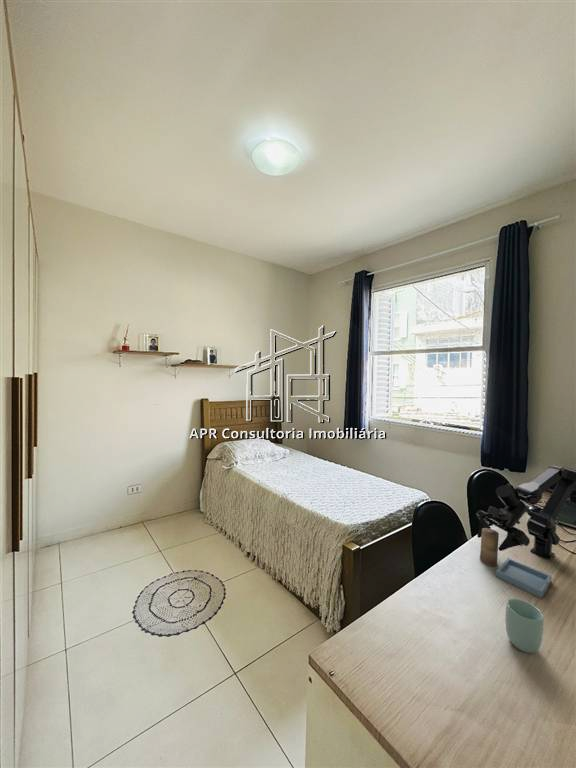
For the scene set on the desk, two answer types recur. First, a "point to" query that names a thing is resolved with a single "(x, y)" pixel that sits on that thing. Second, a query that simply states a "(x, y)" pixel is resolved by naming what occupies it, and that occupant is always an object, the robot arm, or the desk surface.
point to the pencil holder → (489, 547)
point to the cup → (524, 625)
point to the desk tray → (524, 577)
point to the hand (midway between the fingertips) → (488, 543)
